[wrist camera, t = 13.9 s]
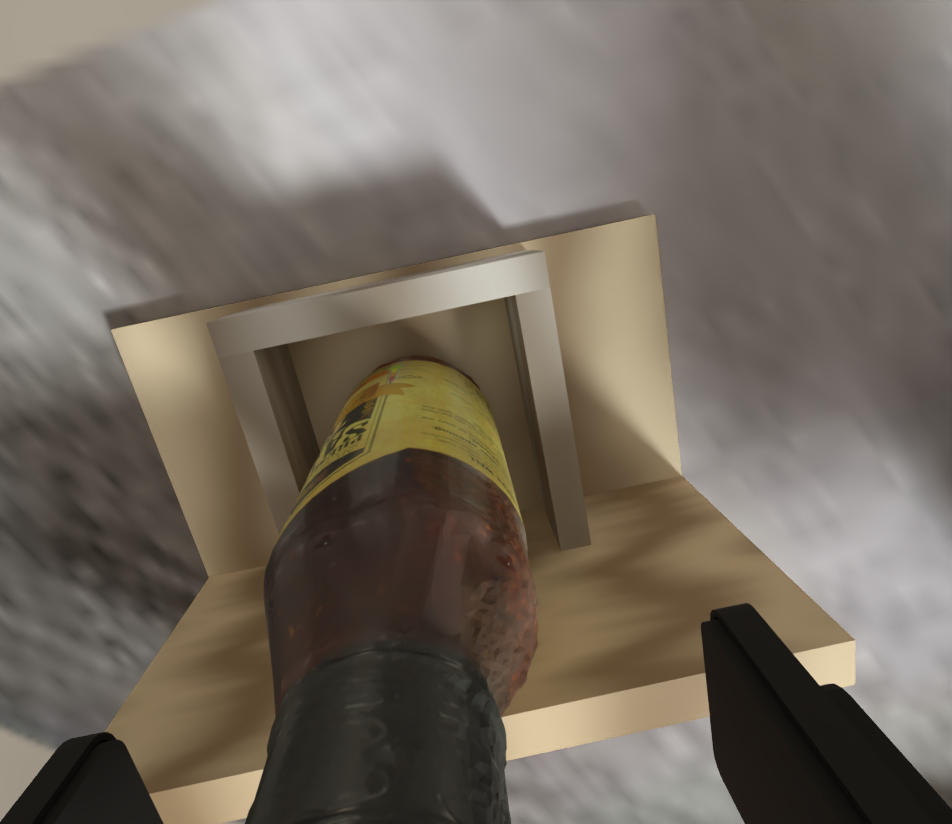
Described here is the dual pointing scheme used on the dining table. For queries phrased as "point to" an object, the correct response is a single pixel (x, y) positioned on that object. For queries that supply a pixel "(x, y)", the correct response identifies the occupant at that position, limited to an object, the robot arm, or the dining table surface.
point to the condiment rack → (531, 471)
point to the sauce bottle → (398, 613)
